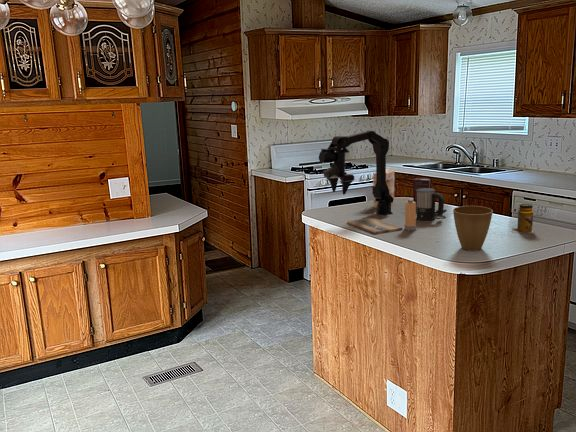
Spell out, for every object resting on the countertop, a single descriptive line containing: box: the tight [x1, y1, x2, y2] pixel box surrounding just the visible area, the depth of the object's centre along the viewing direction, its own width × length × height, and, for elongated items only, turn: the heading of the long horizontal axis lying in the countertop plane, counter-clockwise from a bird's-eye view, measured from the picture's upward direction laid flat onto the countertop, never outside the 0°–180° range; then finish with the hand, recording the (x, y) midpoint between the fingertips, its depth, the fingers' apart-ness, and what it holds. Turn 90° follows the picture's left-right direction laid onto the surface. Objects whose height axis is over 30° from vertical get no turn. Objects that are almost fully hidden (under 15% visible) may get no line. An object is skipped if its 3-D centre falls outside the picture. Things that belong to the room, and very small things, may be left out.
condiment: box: [511, 203, 534, 234], centre depth 237 cm, size 7×8×12 cm
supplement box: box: [412, 178, 431, 209], centre depth 292 cm, size 9×5×16 cm, turn 65°
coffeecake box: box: [372, 169, 395, 209], centre depth 302 cm, size 15×7×20 cm, turn 147°
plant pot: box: [452, 205, 494, 251], centre depth 214 cm, size 15×15×16 cm
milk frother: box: [416, 187, 448, 221], centre depth 269 cm, size 14×16×15 cm
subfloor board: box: [346, 217, 403, 235], centre depth 258 cm, size 15×25×1 cm, turn 24°
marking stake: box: [404, 199, 417, 232], centre depth 248 cm, size 4×4×14 cm
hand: (338, 193), depth 268 cm, fingers open, 9 cm apart
